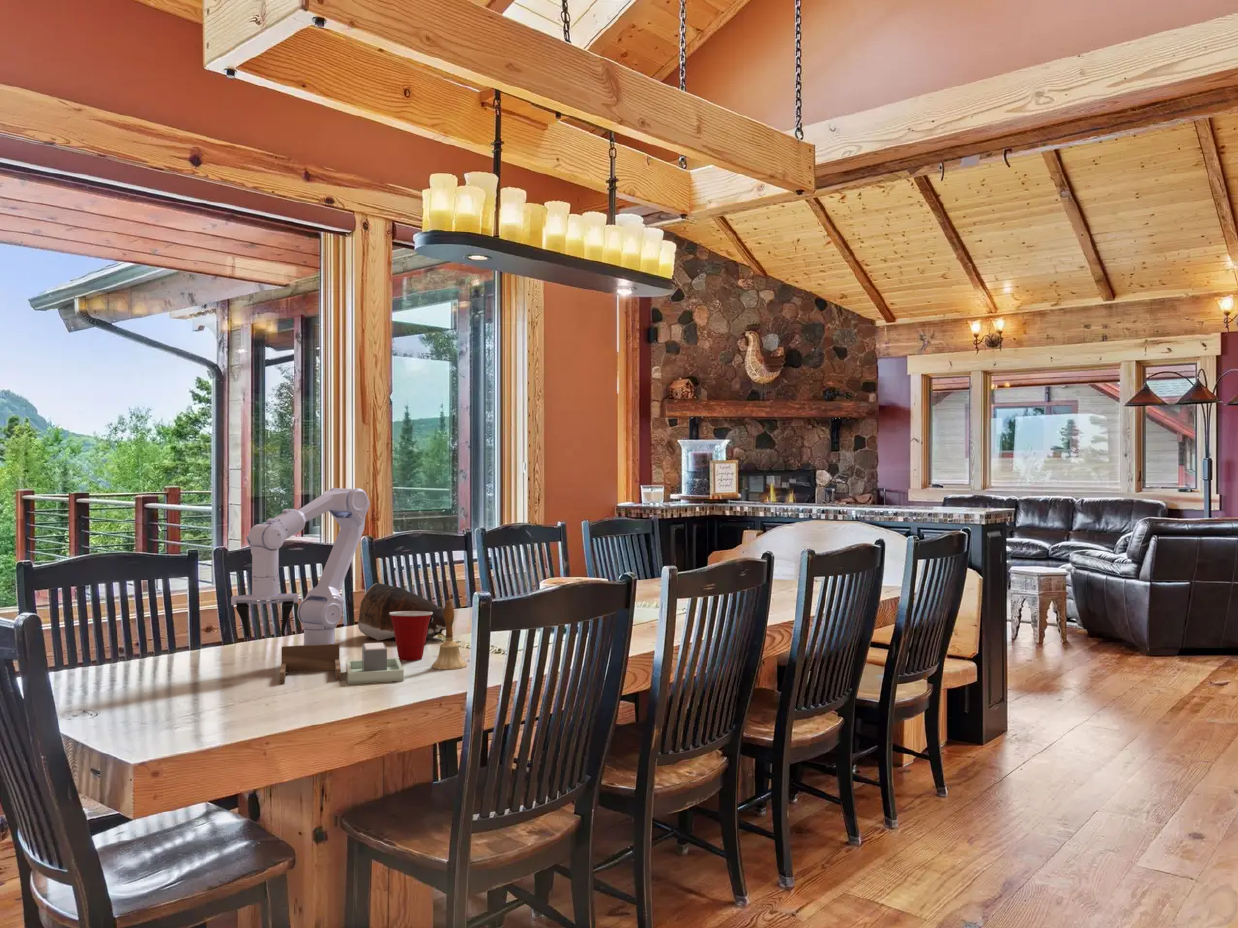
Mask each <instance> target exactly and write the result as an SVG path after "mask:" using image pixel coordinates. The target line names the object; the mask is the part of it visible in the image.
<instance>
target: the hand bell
mask: <svg viewBox="0 0 1238 928" xmlns="http://www.w3.org/2000/svg"><path fill="white" fill-rule="evenodd" d="M443 609H444V621H445V625H446V630H445V641H444V642H442V643H440V646H439V651H438V656H437V658H436V660H435V661H434V662H433V663H432V665H431V667H432V669H435V670H440V671H453V670H461V669H463V668H467V662H465V661H464V660H463V657H462V655H461V651H460V646H459V644H458V642H455V640H454V637H453V636H454V635H453V633H454V632H453V624H454V621H455V609H454V606H453V601H452V600H451V599H450V600H446V601H445V604H444V608H443Z"/></svg>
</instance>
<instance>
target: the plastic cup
mask: <svg viewBox="0 0 1238 928" xmlns="http://www.w3.org/2000/svg"><path fill="white" fill-rule="evenodd" d="M432 614H433V612H426V611H398V612H390V613H389V615H390V616H391V619H392V624H393V628H394V635H395V637H394V640H395V645H396V651H397V658H399V660H400V661H405V662H407V661H408V662H411V661H420V660H422V658H423V657H424V652H425V651H424V650H425V646H426V640H427V638H426V636H427V630H428V624H429V620H430V617H431V615H432Z"/></svg>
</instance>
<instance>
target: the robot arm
mask: <svg viewBox="0 0 1238 928" xmlns="http://www.w3.org/2000/svg"><path fill="white" fill-rule="evenodd" d="M370 505H371V503H370V500H369V497H368V495H367V492H366V491H365V490H364V489H362V488H359V487H357V488H339V487H332V488H330V489H329V490H325V491H324V492H323V493H322V494H321V495H320V496H318V497H316V498H315V499H313V500H311V501H310V502H308V503H306V504H305V505H304V506H302V507H301V508H299V509H295V508H285V509H283V510H282V511H281V512H282V513H280V514H278V515H276V516H275V517H274V518H272V517H270V518H267V519H266V522H265V523H264V524H263V523H259V524H257V523H256V524H255V525H254V526H252V527H251V528H250V530H249V532H248V535H247V536H246V538H245V539H246V542H247V545H248V546H249V548H250V554H251V560H252V562H251V563H252V564H251V565H252V566H251V573H252V574H251V579H252V581H251V594H242V595H232V596H231V599H230V601H231V603H230V605H231V606H236V607H235V608H236V611H237V613H238V615H239V617H240V620H241V621H242V625H243V629H244V634H245V635H244V637H247V638H248V637H250V623H249V621H250V620H249V619H250V614H249V613H250V605H259V604H260V605H261V604H263V605H264V604H265V605H266V604H281V628H280V629H281V632H280V634H281V636H284V635H285V631H286V627H287V622H288V620H289V617H290V615H291V612H292V609H293V607H294V604H298V605H299V606H298V607H297V612H296V613H297V614H296V615H297V618H298V620H299V622H300V623H302V624H301V625H302V628H303V645H320V644H336V628H338V627H337V625H338V623H340V621H341V620H342V619H341V618H342V615H343V611H342V609H343V606H344V602H345V601H344V600H345V599H344V598H343V597H342V595H341V594H340V591H341V589H342V586H343V583H344V582H345V579H346V576H347V573H348V570H349V568H350V566H351V563H352V561H353V558H354V556H355V553H356V551H357V548H358V546H359V543H360V541H361V538H362V535H363V533H364V530H365V525H366V515H367V513H368V511H369V508H370ZM327 512H329V513H330V514H331V516H332V518H333V519H334V520H335V522H336V523H338V526H339V531H338V533H337V534H338V535H337V536H336V538H335V540H334V543H333V546H332V547H331V548H332V549H331V551H330V554H329V555H328V559H327V561H326V563H325V565H324V568H323V571H322V573H321V575H320V578H319V581H318V583H317V585H316V586H315V587H313V588H312V589H310V590H309V591H308V592H307V593H306V596H305V598H304V599H303V600H302V601H301V602H300V604H299V600H300V599H299V598H300V597H299V596H300V595H299V593H279V582H280V581H279V573H280V572H279V569H280V568H279V566H280V565H279V564H280V563H279V561H280V560H279V556H280V555H279V553H280V552H279V549H280V548H281V547H282V546H283V544H284V542H285V540H287V539H289V538H291V537H292V536H294V535H296V534H298V533H299V532H300V531H303V530H304V528H305V526H306V523H307V522H309V521H311V520H313V519H315V518H317V517H319V516H321V515H323V514H325V513H327Z"/></svg>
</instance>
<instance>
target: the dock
mask: <svg viewBox="0 0 1238 928" xmlns="http://www.w3.org/2000/svg"><path fill="white" fill-rule="evenodd" d="M280 662H281V663H280V670H279V685H285V682H286V676H287V673H289V674H290V673H299V672H300V673H303V672H319V671H333V670H334V674H335V675H334V676H335V681H336V680H337V681H341V680H342V679H341V677H342V675H341V674H342V673H341V672H342V671H341V670H342V669H341V660H340V643H335V644H320V645H304V644H303V645H287V646H286V645H285V646H284V645H283V646H281V661H280Z"/></svg>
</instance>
